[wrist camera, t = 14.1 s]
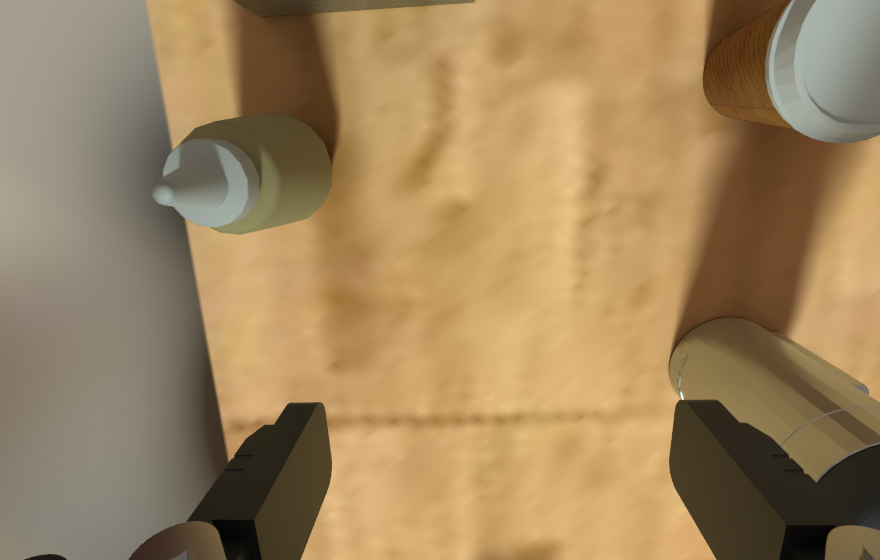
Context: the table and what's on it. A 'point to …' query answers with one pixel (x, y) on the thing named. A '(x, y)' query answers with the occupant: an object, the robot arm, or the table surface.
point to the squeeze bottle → (247, 174)
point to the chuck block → (331, 5)
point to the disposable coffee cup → (803, 70)
